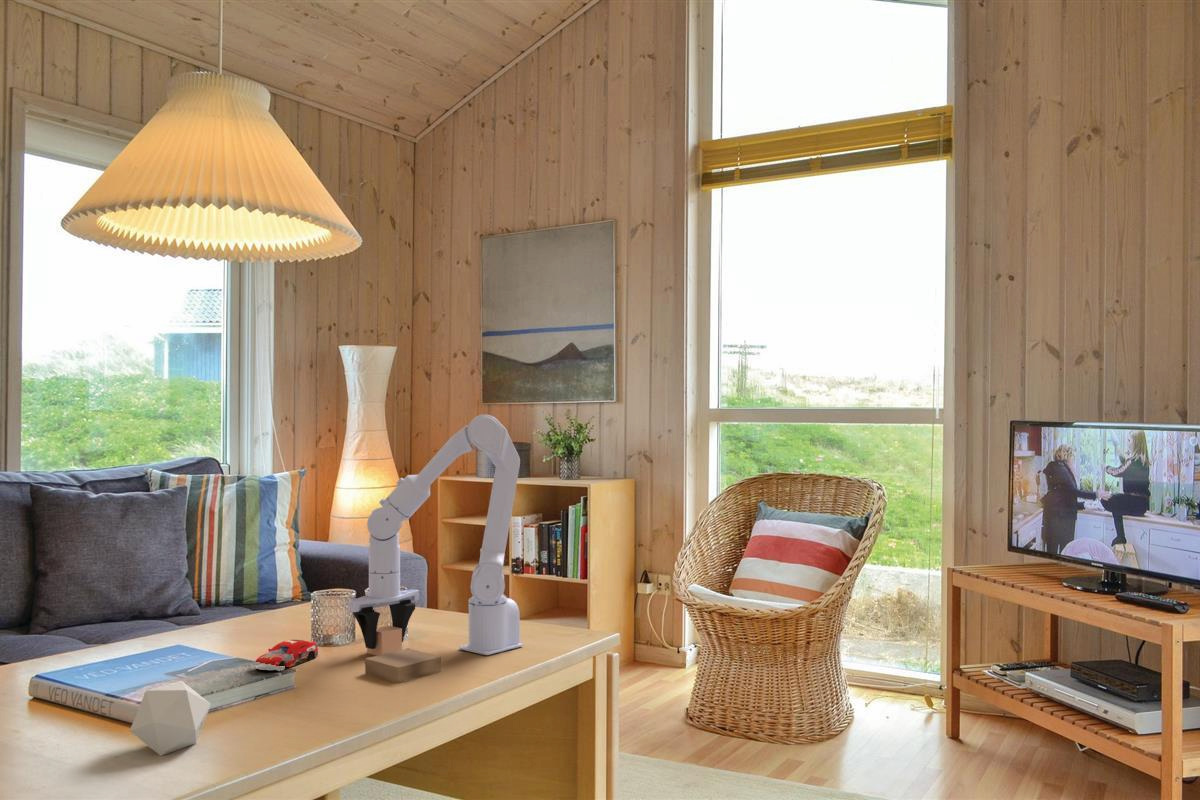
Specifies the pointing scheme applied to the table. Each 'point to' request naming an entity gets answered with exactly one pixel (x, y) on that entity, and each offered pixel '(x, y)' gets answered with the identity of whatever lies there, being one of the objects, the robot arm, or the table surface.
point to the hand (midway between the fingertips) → (384, 644)
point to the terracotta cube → (387, 640)
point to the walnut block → (402, 665)
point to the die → (170, 717)
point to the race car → (290, 653)
